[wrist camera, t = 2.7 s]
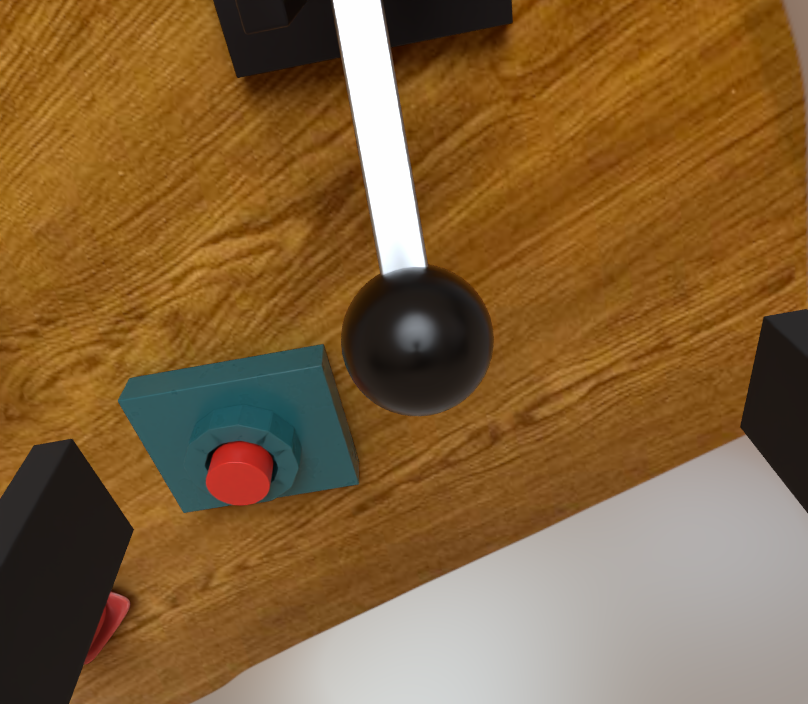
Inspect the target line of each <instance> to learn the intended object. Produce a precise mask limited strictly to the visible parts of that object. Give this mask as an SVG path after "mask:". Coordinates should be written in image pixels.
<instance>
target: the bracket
mask: <svg viewBox="0 0 808 704" xmlns="http://www.w3.org/2000/svg"><path fill="white" fill-rule="evenodd" d="M213 2H214V5H215V8H216V11H217V14H218V18H219V21H220V24H221V27H222V31H223V34H224V37H225V40H226V44H227V47H228V50H229V53H230V57H231V60H232V63H233V66H234V70H235V73H236V76H237V78H240V77H245V76H250V75H255V74H260V73H265V72H270V71H275V70H280V69H285V68H290V67H296V66H301V65H306V64H311V63H316V62H321V61H326V60H331V59H336V58H341V54H340V49H339V43H338V38H337V32H336V27H335V21H334V16H333V10H332V5H331V0H213ZM383 6H384V11H385V17H386V23H387V29H388V35H389V40H390V46H391V47H396V46H401V45H406V44H411V43H416V42H421V41H426V40H431V39H436V38H441V37H446V36H451V35H456V34H461V33H466V32H471V31H476V30H481V29H486V28H491V27H496V26H501V25H506V24H511V23H512V22H513V18H512V0H383Z"/></svg>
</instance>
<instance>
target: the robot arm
mask: <svg viewBox="0 0 808 704" xmlns="http://www.w3.org/2000/svg"><path fill="white" fill-rule="evenodd" d="M740 427H741V429H742V430H743V431H744V432H745V434H746V435H747V436H748V438H749V439H750V440H751V441H752V443H753V444H754V445H755V446H756V448H757V449H758V450H759V452H760V453H761V454H762V455H763V457H764V458H765V459H766V460H767V462H768V463H769V464H770V466H771V467H772V468H773V470H774V471H775V472H776V473H777V475H778V476H779V477H780V478H781V480H782V481H783V482H784V484H785V485H786V486H787V487H788V489H789V490H790V491H791V493H792V494H793V495H794V496H795V498H796V499H797V500H798V501H799V503H800V504H801V505H802V506H803V508H804V509H805V510H806V512H807V513H808V310H807V309H804V310H799V311H793V312H787V313H782V314H776V315H770V316H765V317H764V318H763V323H762V328H761V332H760V337H759V342H758V346H757V351H756V356H755V360H754V365H753V370H752V374H751V379H750V384H749V388H748V393H747V398H746V402H745V407H744V412H743V416H742V421H741V426H740ZM133 530H134V529H133V527H132V526H131V525H130V523H129V522H128V520H127V519H126V517H125V516H124V514H123V513H122V511H121V510H120V508H119V507H118V505H117V504H116V502H115V501H114V500H113V498H112V497H111V495H110V494H109V492H108V491H107V489H106V488H105V486H104V485H103V483H102V482H101V480H100V479H99V477H98V476H97V474H96V473H95V472H94V470H93V469H92V467H91V466H90V464H89V463H88V461H87V460H86V458H85V457H84V455H83V454H82V452H81V451H80V449H79V448H78V446H77V445H76V444H75V442H74V441H73V439H68V440H62V441H56V442H51V443H45V444H39V445H34V446H33V448H32V449H31V451H30V452H29V454H28V456H27V457H26V459H25V460H24V462H23V464H22V465H21V467H20V468H19V470H18V472H17V473H16V475H15V476H14V478H13V480H12V481H11V483H10V484H9V486H8V487H7V489H6V491H5V492H4V494H3V495H2V497H1V499H0V704H69V702H70V700H71V697H72V694H73V692H74V689H75V686H76V683H77V681H78V678H79V675H80V673H81V670H82V667H83V665H84V662H85V659H86V657H87V654H88V651H89V649H90V646H91V643H92V641H93V638H94V635H95V632H96V630H97V627H98V624H99V622H100V619H101V616H102V614H103V611H104V608H105V606H106V603H107V600H108V598H109V595H110V592H111V589H112V587H113V584H114V581H115V579H116V576H117V573H118V571H119V568H120V565H121V563H122V560H123V557H124V555H125V552H126V549H127V546H128V544H129V541H130V538H131V536H132V533H133Z"/></svg>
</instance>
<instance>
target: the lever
mask: <svg viewBox="0 0 808 704" xmlns="http://www.w3.org/2000/svg"><path fill="white" fill-rule="evenodd" d="M331 5H332V10H333V16H334V21H335V27H336V32H337V38H338V43H339V49H340V54H341V60H342V65H343V71H344V76H345V82H346V87H347V93H348V98H349V104H350V109H351V115H352V120H353V126H354V131H355V137H356V142H357V148H358V153H359V159H360V164H361V170H362V175H363V181H364V186H365V192H366V197H367V203H368V208H369V214H370V219H371V224H372V230H373V235H374V241H375V246H376V252H377V257H378V263H379V268H380V274H379V275H377V276H375V277H374V278H373V279H371V280H370V281H369V282H368V283H366V284H365V285H364V286H363V287H362V288H361V289H360V291H359V292H358V293H357V295H356V296H355V297H354V299H353V301H352V302H351V304H350V306H349V308H348V310H347V313H346V315H345V318H344V322H343V326H342V333H341V346H342V354H343V358H344V362H345V365H346V368H347V370H348V372H349V374H350V376H351V378H352V380H353V381H354V383H355V384H356V385H357V387H358V388H359V389H360V391H361V392H362V393H363V394H364V395H365V396H366V397H367V398H369V399H370V400H371V401H373V402H374V403H375V404H377V405H379V406H380V407H382V408H384V409H386V410H389V411H391V412H394V413H398V414H401V415H408V416H427V415H433V414H437V413H441V412H443V411H446V410H449V409H451V408H452V407H454V406H456V405H458V404H459V403H461V402H462V401H464V400H465V399H466V398H467V397H468V396H469V395H470V394H471V393H472V392H473V391H474V390H475V389H476V388H477V387H478V385H479V384H480V382H481V381H482V379H483V378H484V376H485V374H486V372H487V370H488V367H489V364H490V361H491V358H492V352H493V342H494V336H493V327H492V323H491V318H490V316H489V313H488V310H487V308H486V306H485V304H484V302H483V301H482V299H481V298H480V296H479V295H478V293H477V292H476V291H475V290H474V289H473V288H472V287H471V285H470V284H468V283H467V282H466V281H465V280H464V279H462V278H461V277H459V276H458V275H456V274H454V273H453V272H451V271H448V270H446V269H444V268H441V267H437V266H434V265H428V262H427V256H426V250H425V244H424V238H423V233H422V227H421V221H420V215H419V209H418V204H417V198H416V192H415V186H414V180H413V174H412V169H411V163H410V157H409V151H408V145H407V139H406V134H405V128H404V122H403V116H402V110H401V105H400V99H399V93H398V87H397V81H396V75H395V70H394V64H393V58H392V52H391V46H390V40H389V35H388V29H387V23H386V17H385V11H384V6H383V0H331Z"/></svg>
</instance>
